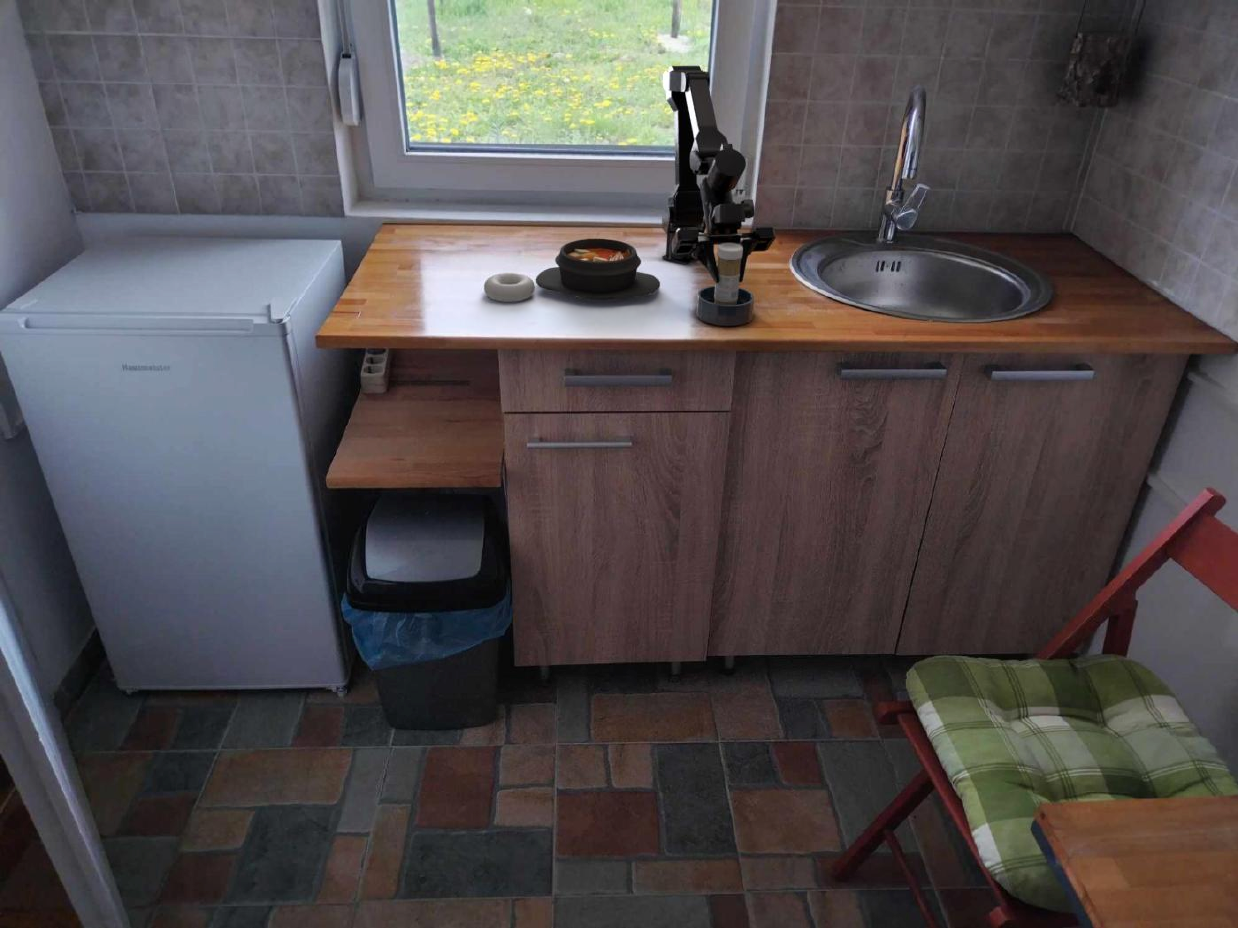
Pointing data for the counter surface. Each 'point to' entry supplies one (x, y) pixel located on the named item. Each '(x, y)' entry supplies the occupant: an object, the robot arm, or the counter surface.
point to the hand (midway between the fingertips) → (729, 282)
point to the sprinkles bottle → (728, 273)
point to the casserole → (598, 271)
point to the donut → (509, 287)
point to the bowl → (724, 308)
